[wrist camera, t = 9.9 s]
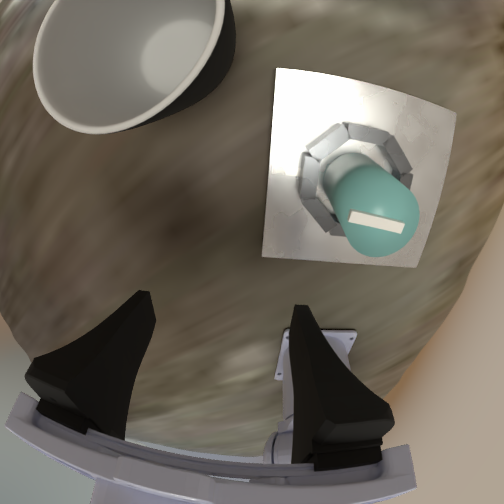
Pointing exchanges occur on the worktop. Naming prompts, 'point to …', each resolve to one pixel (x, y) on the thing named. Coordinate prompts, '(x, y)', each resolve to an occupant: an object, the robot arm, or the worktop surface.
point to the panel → (343, 142)
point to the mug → (130, 59)
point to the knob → (370, 205)
